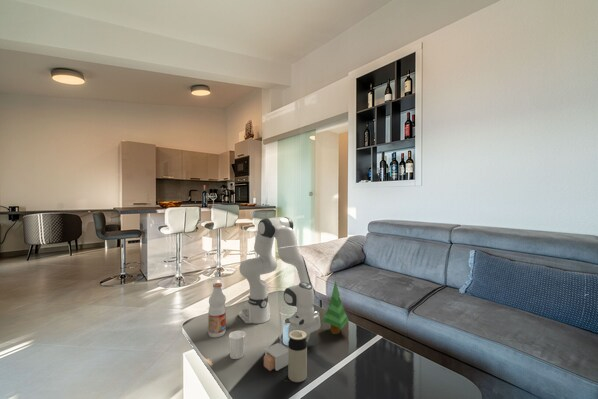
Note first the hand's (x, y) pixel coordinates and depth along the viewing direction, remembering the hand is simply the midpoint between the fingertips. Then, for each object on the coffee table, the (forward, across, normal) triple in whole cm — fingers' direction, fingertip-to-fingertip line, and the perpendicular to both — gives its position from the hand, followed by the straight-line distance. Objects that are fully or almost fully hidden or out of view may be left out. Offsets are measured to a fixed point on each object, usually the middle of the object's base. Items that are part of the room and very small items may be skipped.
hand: (305, 342), depth 133 cm
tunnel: (+3, +18, 0) cm, 18 cm away
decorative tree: (+3, -24, 0) cm, 24 cm away
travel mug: (+3, +18, +13) cm, 22 cm away
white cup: (+3, +29, -18) cm, 34 cm away
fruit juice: (+3, +26, -44) cm, 52 cm away
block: (+3, +22, 0) cm, 22 cm away
